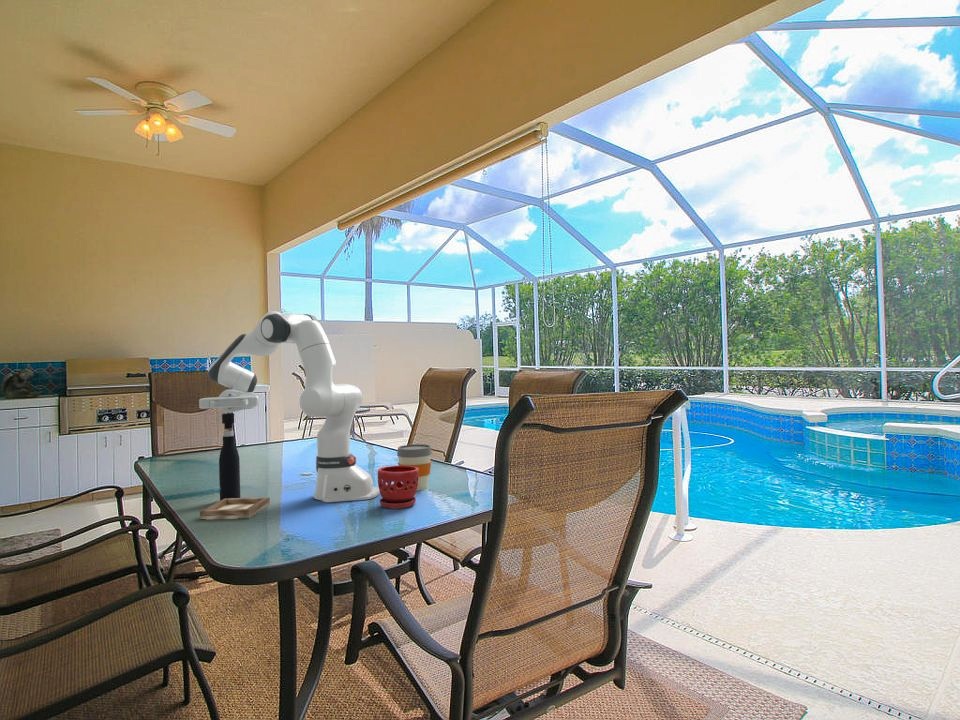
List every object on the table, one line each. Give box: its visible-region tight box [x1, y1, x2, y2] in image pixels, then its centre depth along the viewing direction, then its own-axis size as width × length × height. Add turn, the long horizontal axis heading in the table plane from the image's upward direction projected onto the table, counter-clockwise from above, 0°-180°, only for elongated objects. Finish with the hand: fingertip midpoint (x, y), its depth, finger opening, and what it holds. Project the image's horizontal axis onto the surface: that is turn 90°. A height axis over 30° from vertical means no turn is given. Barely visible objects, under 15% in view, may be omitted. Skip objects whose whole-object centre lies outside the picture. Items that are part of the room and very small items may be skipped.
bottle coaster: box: [199, 497, 271, 520], centre depth 166 cm, size 15×15×2 cm
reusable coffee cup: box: [396, 443, 433, 492], centre depth 192 cm, size 13×13×15 cm
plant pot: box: [377, 465, 419, 510], centre depth 169 cm, size 13×13×12 cm
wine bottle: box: [218, 412, 241, 501], centre depth 180 cm, size 6×6×30 cm
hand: (229, 403), depth 191 cm, fingers open, 8 cm apart
